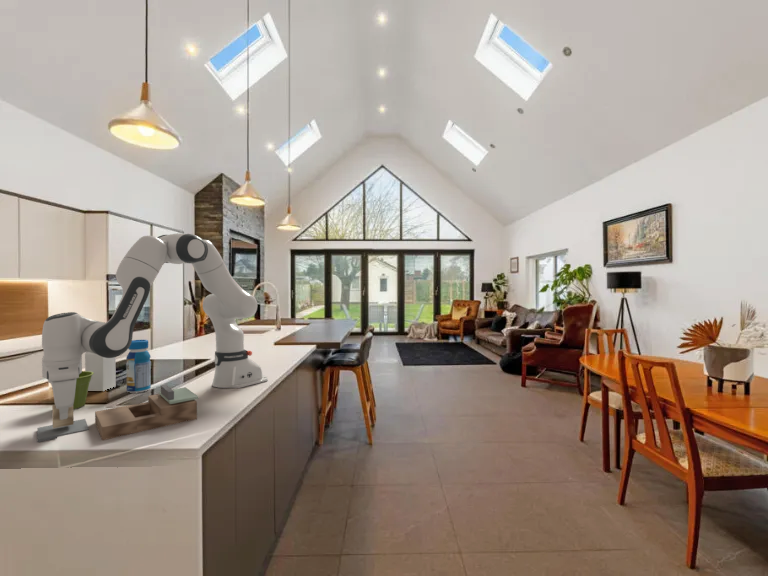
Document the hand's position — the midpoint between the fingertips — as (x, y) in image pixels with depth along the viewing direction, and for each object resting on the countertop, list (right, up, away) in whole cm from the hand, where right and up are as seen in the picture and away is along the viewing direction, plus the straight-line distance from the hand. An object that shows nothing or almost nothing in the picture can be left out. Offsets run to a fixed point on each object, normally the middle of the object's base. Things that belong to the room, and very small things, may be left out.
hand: (63, 416), depth 111 cm
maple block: (0, -2, 0) cm, 2 cm away
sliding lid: (+27, +2, +13) cm, 30 cm away
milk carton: (-21, -4, +43) cm, 48 cm away
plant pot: (-15, -4, +21) cm, 26 cm away
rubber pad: (0, -4, 0) cm, 4 cm away
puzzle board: (+20, -4, +7) cm, 22 cm away
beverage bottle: (-5, -4, +41) cm, 42 cm away
